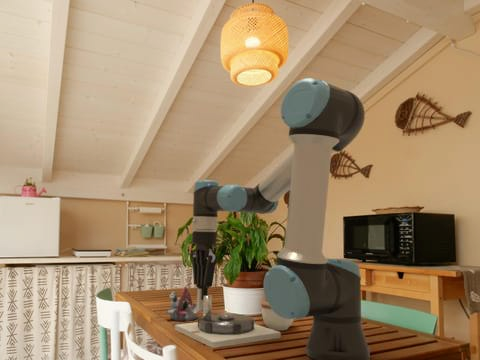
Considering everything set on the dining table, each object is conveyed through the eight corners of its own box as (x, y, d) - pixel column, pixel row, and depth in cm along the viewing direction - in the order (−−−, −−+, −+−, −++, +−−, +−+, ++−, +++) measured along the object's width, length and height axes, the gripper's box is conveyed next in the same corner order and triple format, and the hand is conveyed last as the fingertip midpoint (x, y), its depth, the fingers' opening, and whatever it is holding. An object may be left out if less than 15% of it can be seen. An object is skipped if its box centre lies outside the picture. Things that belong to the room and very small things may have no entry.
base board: (280, 337, 118) (280, 331, 118) (213, 348, 106) (213, 341, 106) (235, 322, 138) (235, 317, 138) (174, 329, 126) (174, 324, 126)
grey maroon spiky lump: (195, 316, 135) (176, 285, 139) (171, 335, 137) (152, 304, 141) (208, 310, 146) (190, 281, 150) (185, 328, 148) (168, 299, 151)
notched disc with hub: (239, 320, 133) (239, 290, 134) (262, 331, 118) (263, 297, 119) (191, 323, 126) (192, 292, 128) (210, 335, 111) (211, 300, 113)
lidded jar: (297, 326, 133) (297, 296, 135) (292, 333, 123) (292, 301, 125) (265, 323, 136) (265, 294, 138) (257, 330, 126) (257, 299, 127)
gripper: (184, 230, 129) (181, 307, 127) (203, 231, 118) (200, 315, 116) (205, 230, 133) (202, 305, 131) (226, 231, 122) (223, 313, 120)
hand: (201, 310), depth 123 cm, fingers closed
